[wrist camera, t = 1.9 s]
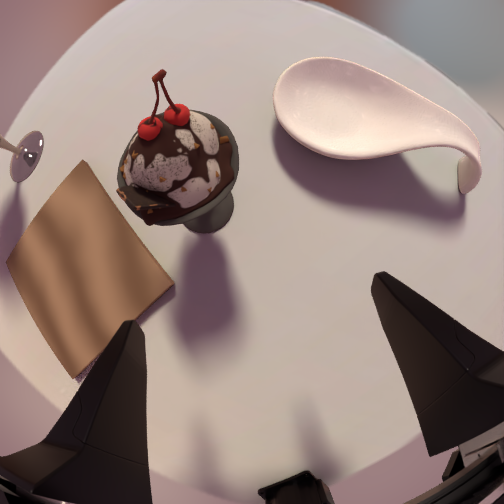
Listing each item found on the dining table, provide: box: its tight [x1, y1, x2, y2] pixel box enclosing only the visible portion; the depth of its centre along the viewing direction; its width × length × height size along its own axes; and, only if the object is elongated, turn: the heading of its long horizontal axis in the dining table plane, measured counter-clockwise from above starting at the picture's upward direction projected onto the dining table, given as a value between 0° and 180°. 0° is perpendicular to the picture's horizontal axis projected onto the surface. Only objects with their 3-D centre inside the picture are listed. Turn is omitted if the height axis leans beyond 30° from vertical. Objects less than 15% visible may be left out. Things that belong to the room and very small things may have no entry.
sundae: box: [116, 69, 239, 233], centre depth 16 cm, size 7×7×15 cm
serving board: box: [6, 160, 175, 379], centre depth 22 cm, size 16×16×1 cm
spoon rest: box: [273, 57, 482, 194], centre depth 20 cm, size 24×12×7 cm, turn 77°
